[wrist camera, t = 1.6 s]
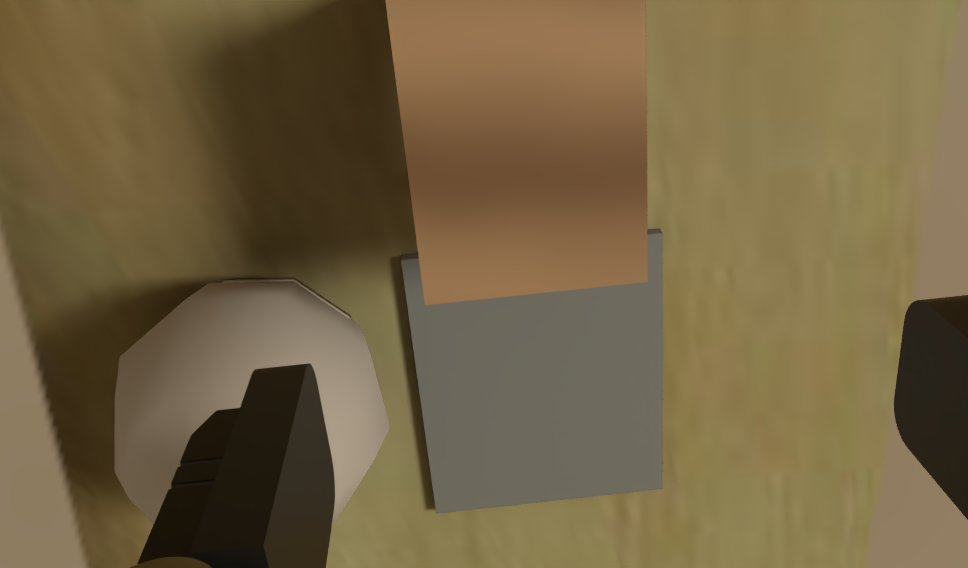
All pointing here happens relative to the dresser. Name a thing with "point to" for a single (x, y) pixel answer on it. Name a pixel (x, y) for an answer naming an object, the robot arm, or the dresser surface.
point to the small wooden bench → (523, 143)
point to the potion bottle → (241, 379)
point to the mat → (540, 391)
